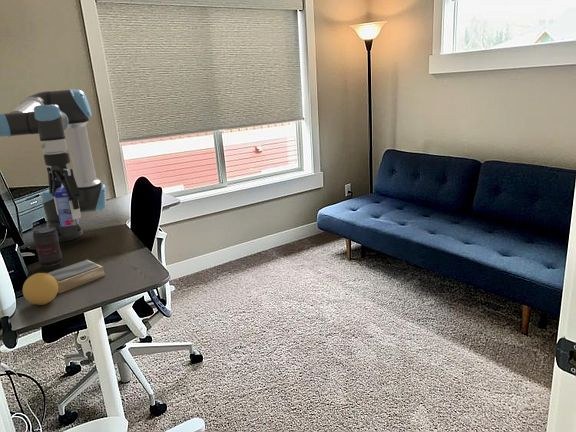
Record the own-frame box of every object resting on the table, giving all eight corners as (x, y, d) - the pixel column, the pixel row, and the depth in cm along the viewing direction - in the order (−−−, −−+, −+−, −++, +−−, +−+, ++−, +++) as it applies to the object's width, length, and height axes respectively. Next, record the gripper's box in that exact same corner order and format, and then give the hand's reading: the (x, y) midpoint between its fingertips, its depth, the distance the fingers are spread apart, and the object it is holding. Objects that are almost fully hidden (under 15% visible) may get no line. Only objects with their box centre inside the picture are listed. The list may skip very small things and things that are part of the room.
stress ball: (49, 312, 136) (69, 283, 140) (20, 297, 130) (41, 268, 134) (40, 307, 143) (59, 280, 147) (11, 293, 137) (32, 265, 141)
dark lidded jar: (48, 272, 164) (39, 234, 160) (36, 268, 169) (27, 231, 164) (68, 264, 171) (60, 227, 167) (56, 260, 175) (48, 225, 171)
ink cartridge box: (78, 225, 150) (69, 183, 146) (60, 228, 148) (51, 185, 144) (80, 218, 159) (72, 178, 154) (63, 220, 157) (54, 180, 153)
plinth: (44, 284, 154) (42, 273, 153) (88, 268, 165) (86, 258, 164) (59, 293, 146) (57, 282, 145) (104, 275, 158) (102, 265, 157)
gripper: (29, 152, 151) (43, 214, 157) (60, 156, 136) (74, 223, 142) (52, 149, 156) (64, 209, 162) (83, 152, 142) (96, 217, 148)
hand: (69, 216), depth 152 cm, fingers closed on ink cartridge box, 11 cm apart
